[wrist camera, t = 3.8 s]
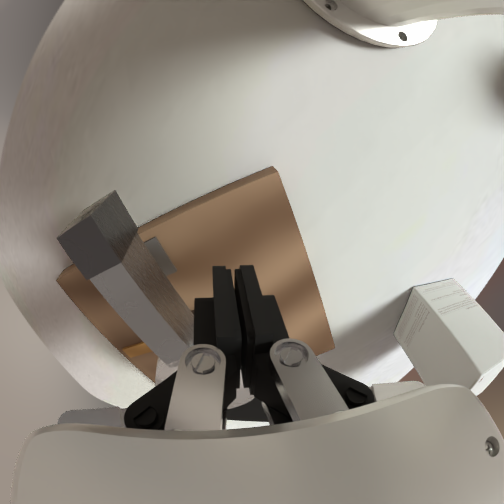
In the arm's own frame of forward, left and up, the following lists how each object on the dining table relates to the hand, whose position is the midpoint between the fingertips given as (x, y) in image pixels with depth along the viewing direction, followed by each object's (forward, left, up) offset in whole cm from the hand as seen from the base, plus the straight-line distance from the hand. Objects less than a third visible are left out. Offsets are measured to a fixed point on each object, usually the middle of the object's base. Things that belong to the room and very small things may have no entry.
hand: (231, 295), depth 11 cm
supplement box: (+19, +16, -8) cm, 26 cm away
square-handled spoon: (+2, -5, -4) cm, 6 cm away
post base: (+7, -5, -8) cm, 11 cm away
